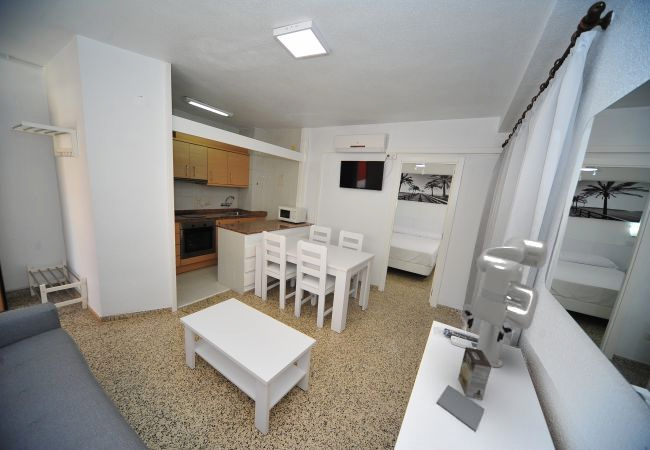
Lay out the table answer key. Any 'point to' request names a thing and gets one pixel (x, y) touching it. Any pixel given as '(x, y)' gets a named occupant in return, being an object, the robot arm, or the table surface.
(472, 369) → the coffee box
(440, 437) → the table surface
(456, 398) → the mat
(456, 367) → the table surface
